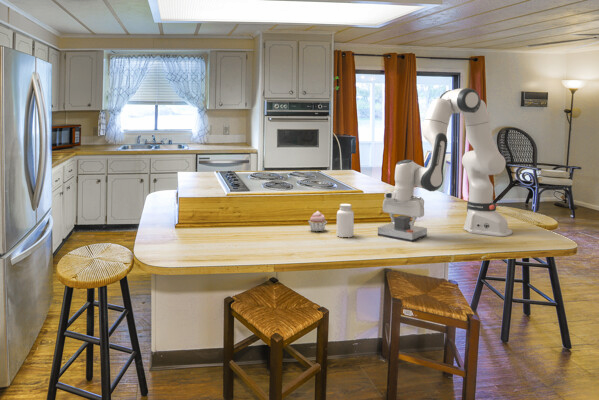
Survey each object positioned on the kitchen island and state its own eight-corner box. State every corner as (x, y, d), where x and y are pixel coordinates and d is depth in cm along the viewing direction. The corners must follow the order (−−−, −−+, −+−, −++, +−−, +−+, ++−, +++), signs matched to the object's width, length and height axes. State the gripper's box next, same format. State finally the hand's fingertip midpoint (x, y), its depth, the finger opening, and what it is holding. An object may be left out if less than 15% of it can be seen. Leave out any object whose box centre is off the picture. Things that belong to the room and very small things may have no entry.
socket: (426, 236, 227) (427, 226, 227) (411, 242, 217) (412, 232, 216) (393, 230, 239) (393, 221, 238) (377, 235, 229) (377, 225, 228)
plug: (410, 232, 228) (410, 216, 227) (403, 234, 224) (404, 218, 223) (400, 230, 232) (401, 215, 230) (394, 233, 227) (394, 217, 226)
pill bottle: (355, 234, 231) (355, 203, 228) (351, 238, 223) (351, 206, 220) (338, 233, 233) (339, 202, 230) (334, 237, 226) (334, 205, 223)
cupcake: (322, 228, 244) (323, 208, 242) (329, 232, 235) (330, 212, 234) (305, 229, 241) (305, 209, 239) (311, 233, 232) (311, 213, 231)
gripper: (427, 196, 220) (426, 226, 223) (388, 192, 234) (387, 220, 236) (420, 198, 216) (419, 228, 218) (381, 193, 229) (380, 222, 231)
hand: (402, 224), depth 227 cm, fingers open, 8 cm apart
